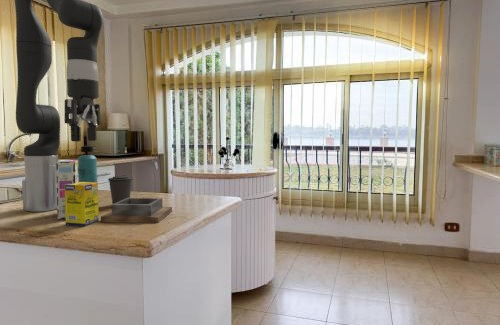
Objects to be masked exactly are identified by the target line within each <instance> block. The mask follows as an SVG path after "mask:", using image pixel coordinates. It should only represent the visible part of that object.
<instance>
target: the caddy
mask: <svg viewBox="0 0 500 325" xmlns="http://www.w3.org/2000/svg"><path fill="white" fill-rule="evenodd" d="M163 201H164V200H163V198H162V197H130V198H126V199H123V200H121V201H119V202H117V203H114V204H111V211H109V212H106V213H105V214H103V215H100V222H101V223H150V224H151V223H153V224H154V223H155V224H157V223H160V222H161V221H163V219H165V218H166V217H167V216H168V215H169V214H171V213H172V212H173V206H164V205H163V204H164V203H163Z"/></svg>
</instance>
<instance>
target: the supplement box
mask: <svg viewBox="0 0 500 325" xmlns="http://www.w3.org/2000/svg"><path fill="white" fill-rule="evenodd" d="M98 184H99V183H98V182H97V183H96V182H78V183H72V184H65V214H66V219H65V226H72V227H73V226H74V227H87V226H89V225H92V224H95V223H98V222H99V220H100V217H99V185H98Z"/></svg>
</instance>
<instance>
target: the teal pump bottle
mask: <svg viewBox="0 0 500 325" xmlns="http://www.w3.org/2000/svg"><path fill="white" fill-rule="evenodd" d="M94 152H95V151H94V146H91V145H82V146H81V147H80V153H94ZM97 160H98V159H97V157H96V156H95V155H94V154H93V155H92V154H89V155H88V154H85V155H84V154H83V155H80V156H78V158H77V169H78V182H96V183H98V179H99V178H98V165H97V164H98V162H97Z"/></svg>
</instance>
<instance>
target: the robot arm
mask: <svg viewBox="0 0 500 325" xmlns="http://www.w3.org/2000/svg"><path fill="white" fill-rule="evenodd" d="M46 2H47V3H48V5H49V7H50V8H51V9H52V10H53V11H54V12H56V13H57V16H58V20H59V21H60V23H61V24H63V25H64V26H67V27H69V28H73V29H77V30H80V31H84V36H74V37H73V36H72V37H69V38H68V39H67V41H66V49H67V50H66V56H67V58H66V59H67V62H66V93H67V94H66V95H67V97H69V99H66V98H65V99H64V120H63V121H64V123H65V124H68V126H69V127H70V140H71V142H76V143H77V142H81V140H82V138H81V137H82V130H81V124H82V122H83V121H84V122H85V123H86V126H87V130H86V131H87V141H89V142H95V141H97V139H98V138H97V135H98V134H97V128H98V126H101V124H102V123H101V121H102V120H101V105H100V104H99V103H94V100H96V99H98V98H99V95H100V91H99V90H100V89H99V68H98V51H97V49H98V45H99V44H98V43H99V39H100V35H101V31H102V29H103V26H104V14H103V12H102V10H101V8H100V7H99V6H97V4H93V3H90V2H87V1H83V0H46ZM14 8H15V21H16V22H15V27H16V30H15V31H16V32H15V33H16V36H15V37H16V39H15V40H16V41H15V43H16V44H15V45H16V48H15V49H16V64H17V70H16V71H17V87H16V88H17V90H16V102H15V103H16V104H15V124H16V126H17V128H18V130H19V131H20V133H22V134H27V135H38V138H37V140H36V141H35V142H33V143H30V144H28V145H26V146H24V148H23V156H24V157H23V158H24V160H23V161H24V163H23V164H24V179H22V181H21V187H22V190H21V191H22V211H27V212H35V213H36V212H37V213H38V212H48V211H53V210H57V171H56V162H58V161H59V149H60V146H61V141H60V140H61V116H60V113H59V111H58V109H57V108H56V107H54V106H53V105H47V104H38V103H37V94H38V88H39V86H40V83H41V81H42V80H43V79H44V78H45V76H46V74H47V73H48V71H49V70H50V68H51V66H52V61H53V57H52V56H53V54H52V52H53V48H52V46H53V44H52V40H51V38H50V36H49V34H48V32H47V30H46V28H45V27H44V26H43V24H42V22H41V21H40V19H39V18H38V16H37V14H36V12H35V10H34V8H33V2H32V0H14Z"/></svg>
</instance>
